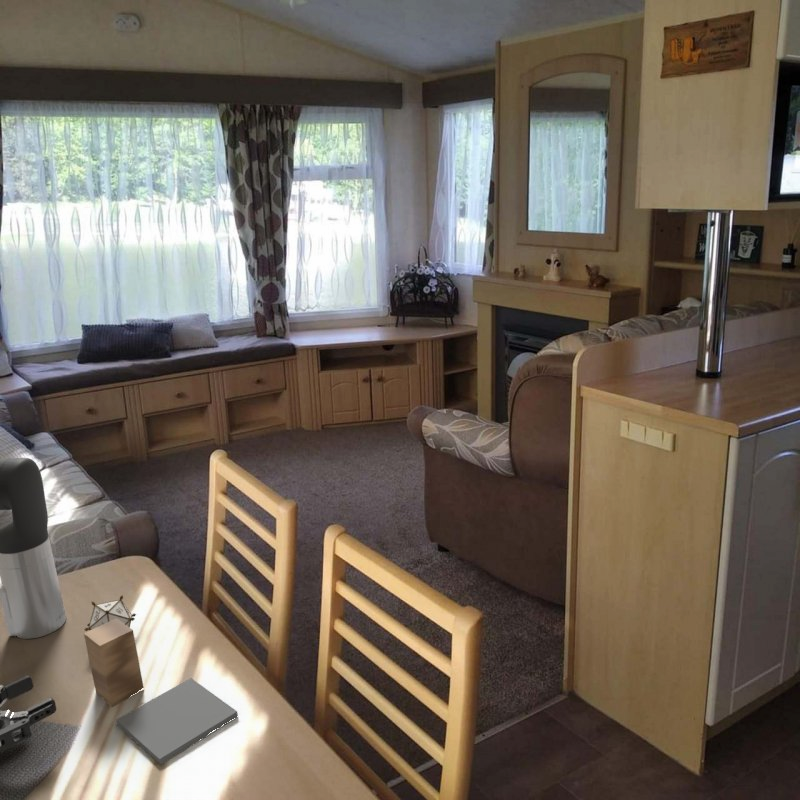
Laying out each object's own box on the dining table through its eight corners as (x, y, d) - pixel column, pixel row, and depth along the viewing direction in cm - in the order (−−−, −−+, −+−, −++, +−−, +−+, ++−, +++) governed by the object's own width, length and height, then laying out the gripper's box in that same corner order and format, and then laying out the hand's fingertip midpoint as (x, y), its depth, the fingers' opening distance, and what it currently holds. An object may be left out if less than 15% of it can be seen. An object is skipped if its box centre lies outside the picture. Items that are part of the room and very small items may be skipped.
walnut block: (112, 707, 125) (99, 645, 122) (96, 693, 129) (83, 633, 126) (144, 689, 129) (132, 629, 126) (127, 676, 133) (116, 618, 129)
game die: (122, 664, 143) (114, 643, 135) (79, 646, 143) (69, 624, 136) (148, 619, 148) (142, 596, 140) (107, 602, 149) (98, 579, 141)
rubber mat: (160, 765, 112) (159, 759, 112) (116, 725, 121) (115, 719, 120) (238, 717, 121) (237, 711, 120) (191, 683, 130) (191, 677, 129)
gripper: (-67, 751, 103) (58, 689, 114) (-98, 705, 112) (19, 653, 123) (-54, 799, 105) (67, 734, 116) (-86, 750, 114) (29, 694, 125)
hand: (42, 692), depth 119 cm, fingers open, 8 cm apart
